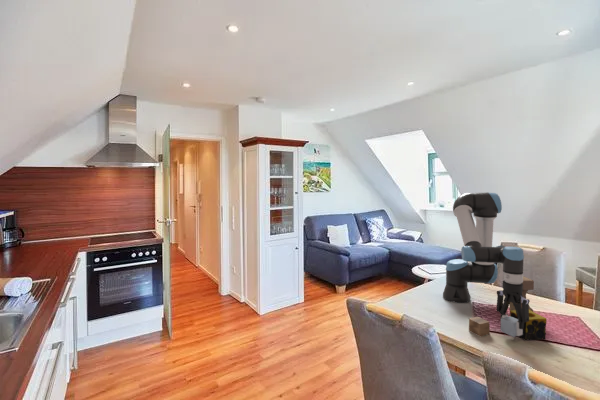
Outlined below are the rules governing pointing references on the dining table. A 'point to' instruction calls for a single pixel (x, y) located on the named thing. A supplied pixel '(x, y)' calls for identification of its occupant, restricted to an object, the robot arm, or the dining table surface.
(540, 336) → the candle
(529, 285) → the decorative block
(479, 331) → the walnut cube
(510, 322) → the slate block
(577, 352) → the dining table surface
